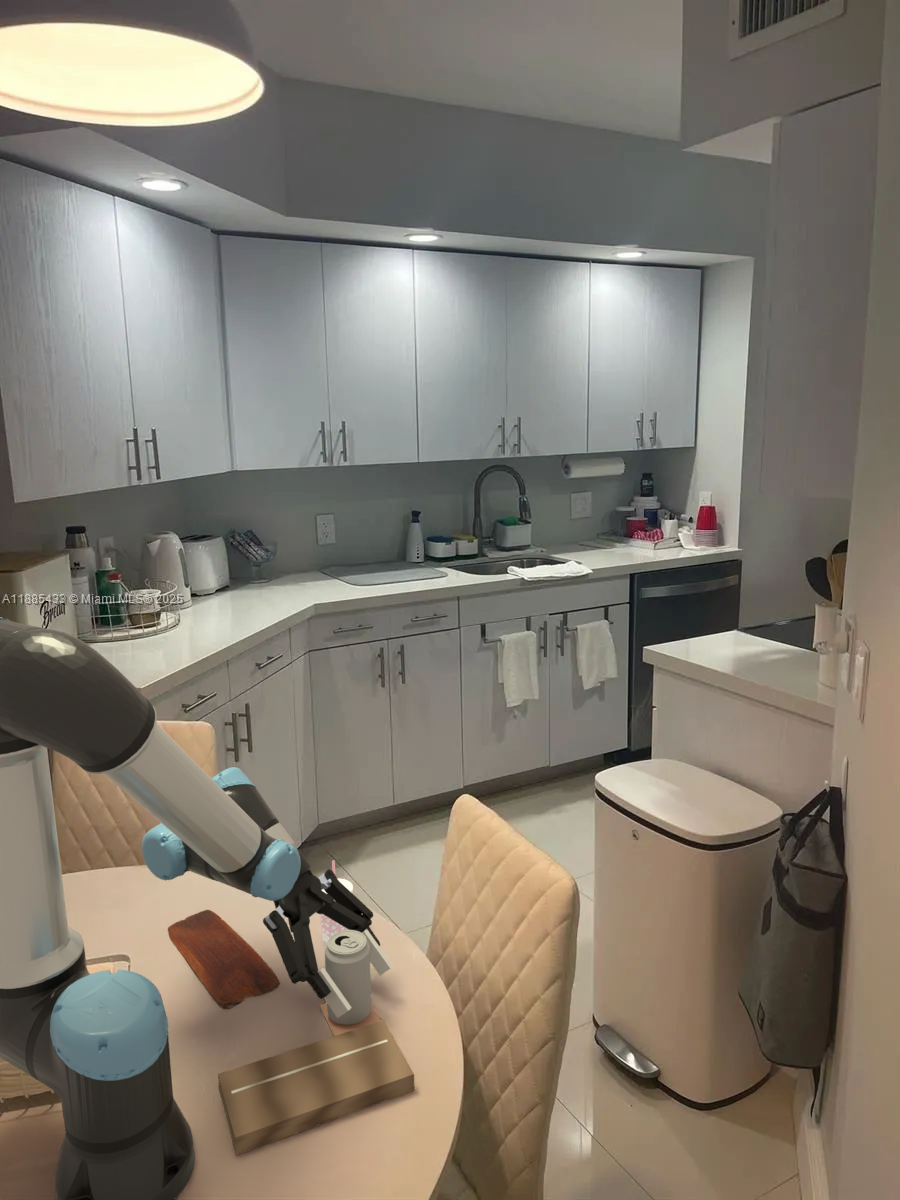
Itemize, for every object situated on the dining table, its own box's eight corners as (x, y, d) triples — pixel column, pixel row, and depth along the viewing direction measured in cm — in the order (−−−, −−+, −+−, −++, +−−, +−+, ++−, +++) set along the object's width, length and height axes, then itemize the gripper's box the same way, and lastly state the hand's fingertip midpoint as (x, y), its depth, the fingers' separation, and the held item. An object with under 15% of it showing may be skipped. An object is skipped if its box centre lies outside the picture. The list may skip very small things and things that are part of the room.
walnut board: (236, 1155, 104) (234, 1137, 103) (218, 1089, 113) (217, 1073, 113) (414, 1090, 113) (413, 1073, 112) (384, 1035, 123) (383, 1019, 122)
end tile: (334, 1038, 122) (334, 1036, 122) (320, 1007, 128) (320, 1005, 128) (381, 1023, 125) (381, 1021, 125) (364, 993, 131) (364, 991, 131)
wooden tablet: (284, 988, 133) (284, 979, 133) (222, 1016, 128) (222, 1006, 127) (216, 909, 154) (215, 900, 154) (160, 929, 148) (159, 920, 148)
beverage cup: (341, 951, 141) (338, 874, 138) (310, 941, 144) (306, 865, 141) (361, 931, 146) (359, 856, 143) (331, 921, 149) (328, 848, 146)
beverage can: (345, 993, 131) (342, 922, 128) (380, 1008, 128) (378, 936, 125) (318, 1018, 126) (314, 945, 123) (354, 1034, 122) (351, 960, 120)
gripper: (310, 841, 139) (394, 958, 135) (208, 911, 121) (302, 1049, 116) (335, 818, 135) (422, 938, 131) (234, 887, 117) (332, 1029, 113)
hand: (366, 991), depth 124 cm, fingers open, 10 cm apart
